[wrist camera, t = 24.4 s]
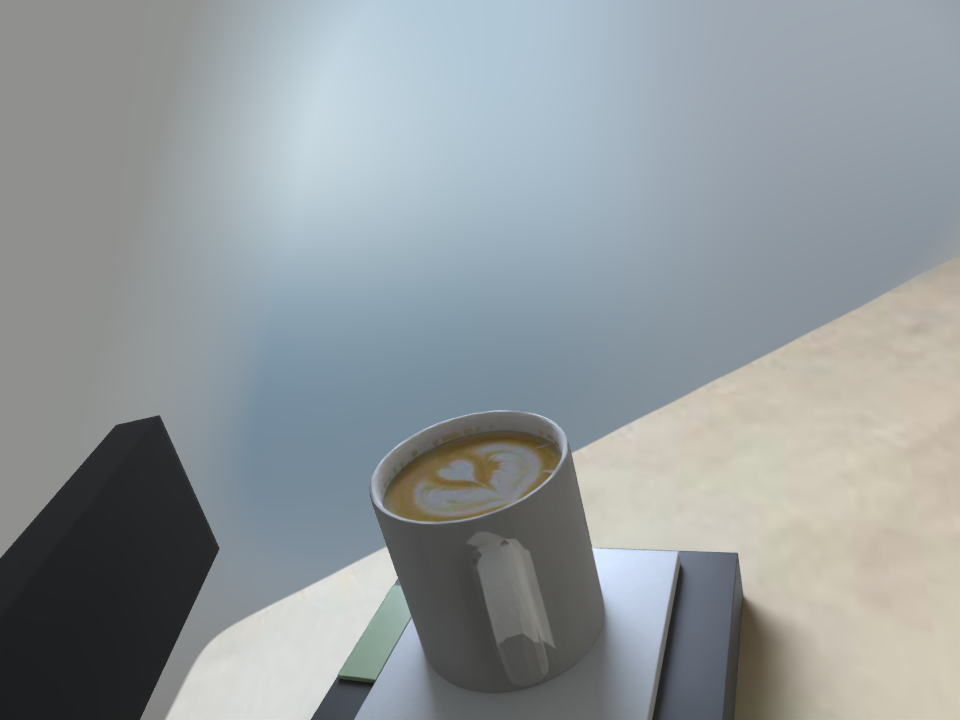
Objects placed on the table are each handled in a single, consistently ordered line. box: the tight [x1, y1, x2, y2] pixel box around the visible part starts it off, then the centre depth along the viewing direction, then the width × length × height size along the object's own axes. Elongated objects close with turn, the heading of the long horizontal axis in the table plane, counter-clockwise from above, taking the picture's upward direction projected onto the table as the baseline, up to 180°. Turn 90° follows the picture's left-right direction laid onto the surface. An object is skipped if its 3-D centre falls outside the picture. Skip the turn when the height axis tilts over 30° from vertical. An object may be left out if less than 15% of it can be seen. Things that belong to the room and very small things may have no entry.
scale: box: [311, 548, 743, 720], centre depth 41 cm, size 20×16×4 cm
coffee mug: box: [370, 410, 604, 693], centre depth 38 cm, size 13×10×10 cm
